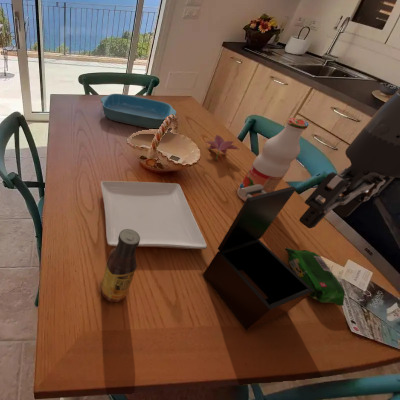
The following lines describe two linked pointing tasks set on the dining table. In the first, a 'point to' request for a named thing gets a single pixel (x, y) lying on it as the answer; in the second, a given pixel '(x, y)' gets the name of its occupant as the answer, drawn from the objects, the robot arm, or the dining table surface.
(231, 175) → the dining table surface
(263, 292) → the chocolate bar
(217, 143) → the lily
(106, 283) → the sauce bottle
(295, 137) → the fruit juice
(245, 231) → the bin lid
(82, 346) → the dining table surface
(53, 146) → the dining table surface
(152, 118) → the casserole dish
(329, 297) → the snack package
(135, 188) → the square plate
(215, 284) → the waste bin
